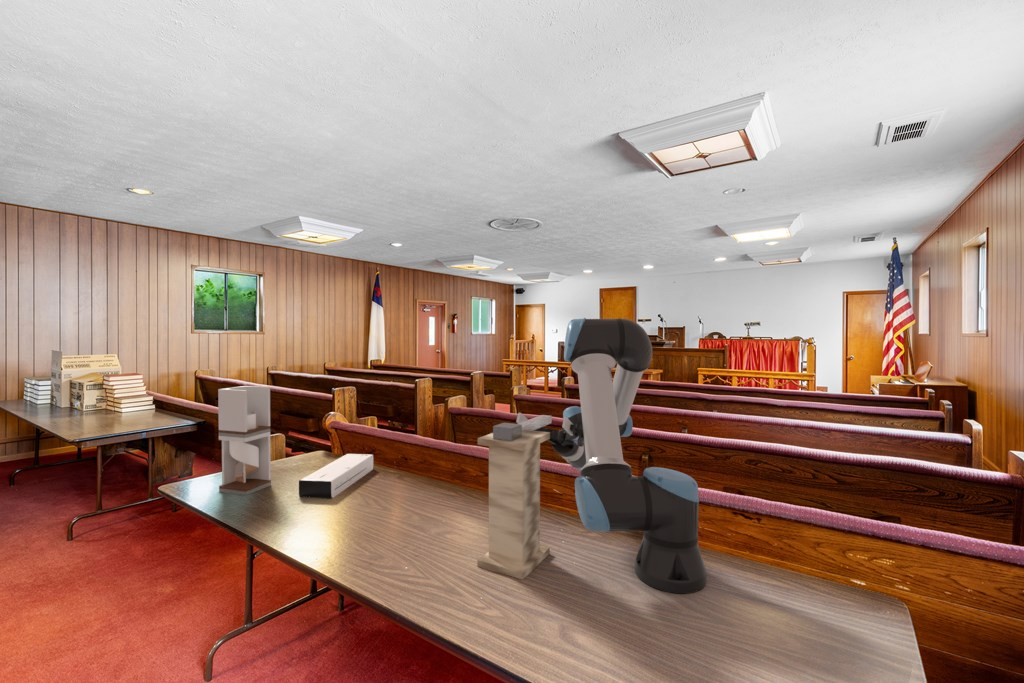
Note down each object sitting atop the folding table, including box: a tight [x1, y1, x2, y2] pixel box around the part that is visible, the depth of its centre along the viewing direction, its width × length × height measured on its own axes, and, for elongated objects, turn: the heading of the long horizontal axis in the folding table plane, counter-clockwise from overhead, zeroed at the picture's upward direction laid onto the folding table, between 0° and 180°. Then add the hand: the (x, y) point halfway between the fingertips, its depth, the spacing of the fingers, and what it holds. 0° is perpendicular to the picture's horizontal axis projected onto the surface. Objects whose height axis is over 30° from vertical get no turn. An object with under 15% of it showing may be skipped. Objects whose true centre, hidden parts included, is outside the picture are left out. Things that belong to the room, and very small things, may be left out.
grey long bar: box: [492, 414, 553, 442], centre depth 116 cm, size 24×5×3 cm, turn 151°
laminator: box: [298, 453, 374, 499], centre depth 169 cm, size 34×12×6 cm, turn 173°
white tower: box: [217, 385, 272, 496], centre depth 162 cm, size 11×11×35 cm
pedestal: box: [477, 431, 551, 580], centre depth 111 cm, size 14×12×30 cm
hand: (540, 419), depth 124 cm, fingers open, 13 cm apart
